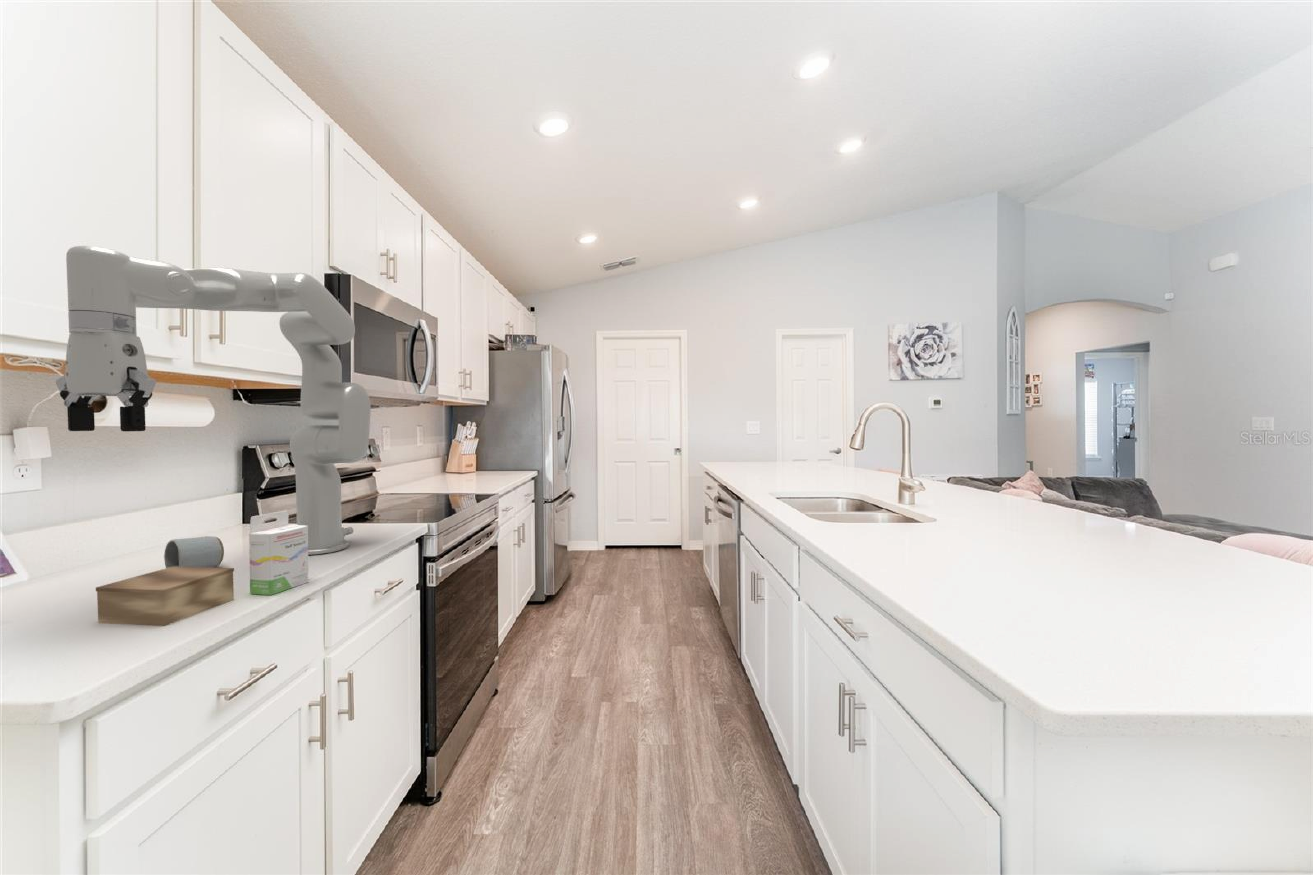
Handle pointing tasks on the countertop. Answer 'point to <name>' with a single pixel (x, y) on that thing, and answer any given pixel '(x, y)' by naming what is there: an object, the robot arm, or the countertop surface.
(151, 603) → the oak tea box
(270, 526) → the ink box
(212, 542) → the ceramic mug
